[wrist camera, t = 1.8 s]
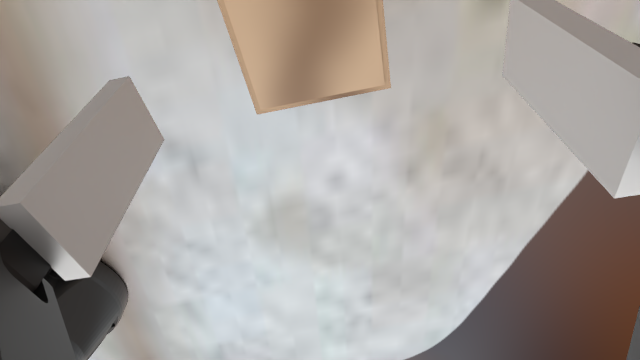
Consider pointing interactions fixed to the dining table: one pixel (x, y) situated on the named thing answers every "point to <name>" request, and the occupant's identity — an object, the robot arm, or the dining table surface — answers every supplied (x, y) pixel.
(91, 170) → the robot arm
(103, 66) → the dining table surface
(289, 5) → the small wooden stool
